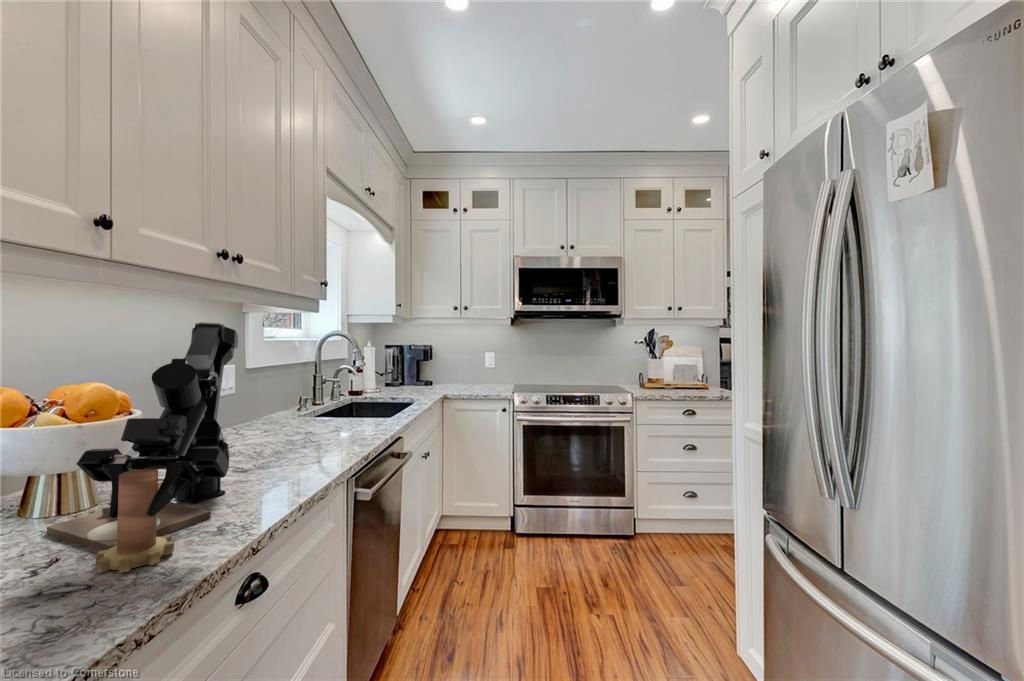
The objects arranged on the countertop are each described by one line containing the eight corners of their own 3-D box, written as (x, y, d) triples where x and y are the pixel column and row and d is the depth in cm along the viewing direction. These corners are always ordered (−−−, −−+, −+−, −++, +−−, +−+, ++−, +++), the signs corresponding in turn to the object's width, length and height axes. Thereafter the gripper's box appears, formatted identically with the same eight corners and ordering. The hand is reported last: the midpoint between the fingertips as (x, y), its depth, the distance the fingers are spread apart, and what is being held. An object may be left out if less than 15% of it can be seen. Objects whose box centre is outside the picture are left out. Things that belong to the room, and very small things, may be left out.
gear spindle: (151, 539, 69) (153, 462, 69) (187, 550, 66) (190, 468, 66) (80, 565, 61) (83, 477, 61) (118, 578, 58) (121, 486, 58)
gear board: (150, 503, 85) (150, 485, 85) (210, 517, 79) (210, 498, 79) (46, 533, 71) (47, 512, 71) (110, 554, 65) (110, 530, 65)
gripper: (88, 396, 66) (18, 493, 55) (223, 396, 69) (183, 487, 58) (122, 437, 73) (67, 529, 62) (242, 435, 77) (210, 521, 66)
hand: (131, 516), depth 62 cm, fingers closed on gear spindle, 4 cm apart
